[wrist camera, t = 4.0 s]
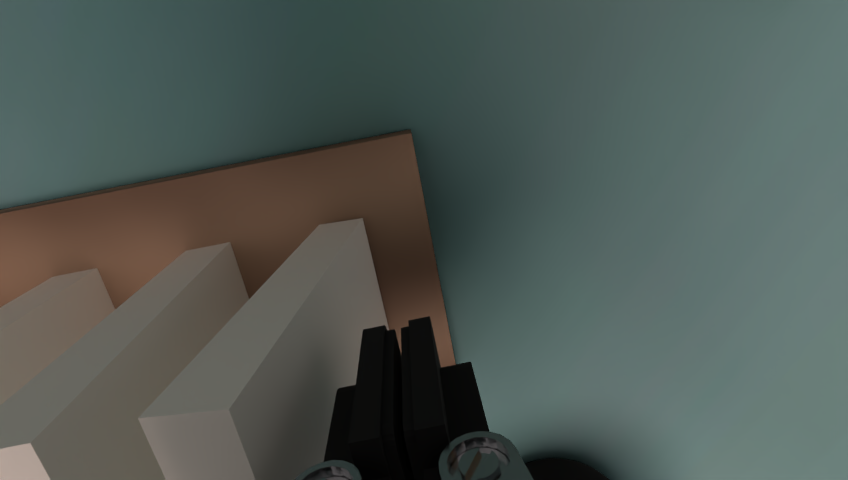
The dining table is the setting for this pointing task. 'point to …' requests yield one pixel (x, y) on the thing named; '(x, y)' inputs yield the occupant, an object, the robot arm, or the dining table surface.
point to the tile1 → (273, 368)
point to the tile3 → (48, 325)
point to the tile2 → (119, 376)
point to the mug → (563, 470)
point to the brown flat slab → (241, 225)
